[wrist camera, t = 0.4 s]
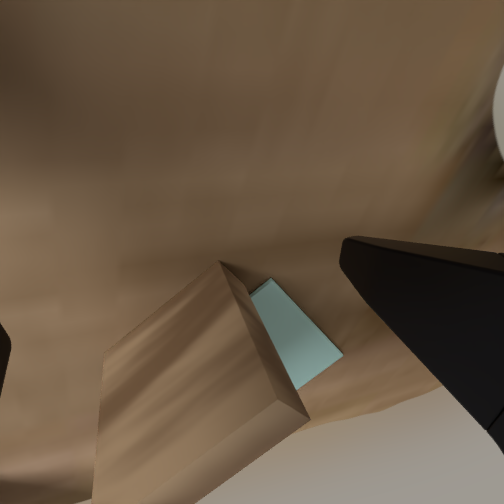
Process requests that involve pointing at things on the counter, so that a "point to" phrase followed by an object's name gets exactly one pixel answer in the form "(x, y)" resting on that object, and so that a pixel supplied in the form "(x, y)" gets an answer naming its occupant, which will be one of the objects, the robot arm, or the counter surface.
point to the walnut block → (191, 397)
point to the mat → (293, 334)
